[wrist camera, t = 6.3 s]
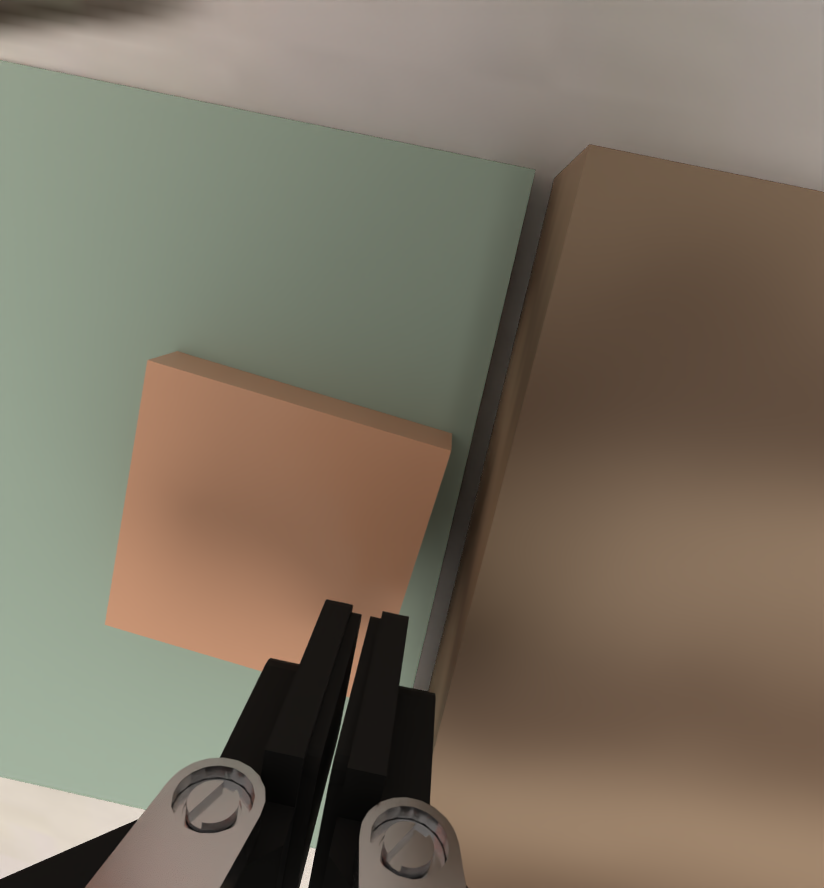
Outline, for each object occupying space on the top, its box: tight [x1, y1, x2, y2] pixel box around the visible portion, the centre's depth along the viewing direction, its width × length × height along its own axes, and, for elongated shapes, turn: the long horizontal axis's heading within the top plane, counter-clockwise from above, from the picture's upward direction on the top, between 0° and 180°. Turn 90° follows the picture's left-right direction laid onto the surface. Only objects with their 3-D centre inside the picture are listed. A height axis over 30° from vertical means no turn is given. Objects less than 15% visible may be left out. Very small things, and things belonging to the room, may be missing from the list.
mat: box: [0, 60, 535, 848], centre depth 17 cm, size 20×12×1 cm, turn 169°
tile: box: [105, 351, 452, 697], centre depth 15 cm, size 7×7×2 cm
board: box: [428, 144, 824, 888], centre depth 15 cm, size 20×12×4 cm, turn 169°
